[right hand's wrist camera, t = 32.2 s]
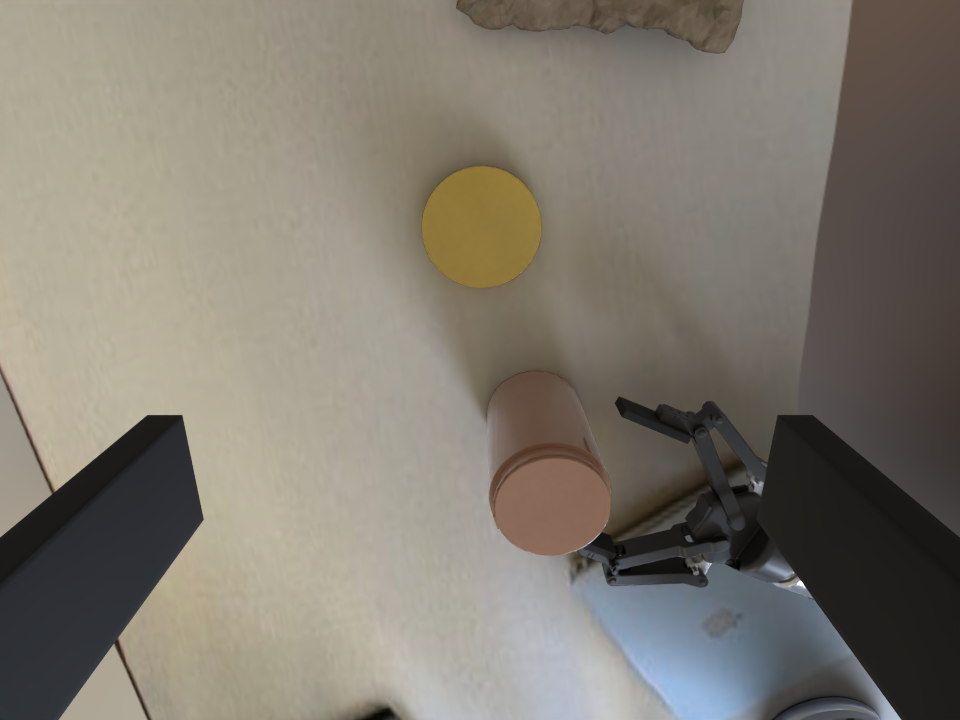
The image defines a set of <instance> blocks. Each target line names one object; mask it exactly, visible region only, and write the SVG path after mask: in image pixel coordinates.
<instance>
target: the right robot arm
mask: <svg viewBox="0 0 960 720" xmlns="http://www.w3.org/2000/svg"><path fill="white" fill-rule="evenodd" d="M203 520H204V519H203V514H202V509H201V504H200V499H199V494H198V490H197V485H196V480H195V475H194V470H193V465H192V460H191V455H190V451H189V446H188V441H187V436H186V431H185V426H184V421H183V416H182V415H147V416H146V417H145V418H144V419H142V420H141V421H140V422H139V423H138V424H136V425H135V426H134V427H133V428H132V429H130V430H129V431H128V432H127V433H125V434H124V435H123V436H122V437H121V438H119V439H118V440H117V441H116V442H115V443H113V444H112V445H111V446H110V447H109V448H107V449H106V450H105V451H104V452H103V453H101V454H100V455H99V456H98V457H97V458H95V459H94V460H93V461H92V462H91V463H89V464H88V465H87V466H86V467H85V468H83V469H82V470H81V471H80V472H79V473H77V474H76V475H75V476H74V477H73V478H71V479H70V480H69V481H68V482H67V483H65V484H64V485H63V486H62V487H61V488H59V489H58V490H57V491H56V492H55V493H53V494H52V495H51V496H50V497H48V498H47V499H46V500H45V501H44V502H42V503H41V504H40V505H39V506H38V507H36V508H35V509H34V510H33V511H32V512H30V513H29V514H28V515H27V516H26V517H24V518H23V519H22V520H21V521H20V522H18V523H17V524H16V525H15V526H14V527H12V528H11V529H10V530H9V531H8V532H6V533H5V534H4V535H3V536H2V537H0V720H59V718H60V717H61V716H62V714H63V713H64V711H65V710H66V709H67V707H68V706H69V704H70V703H71V702H72V700H73V699H74V698H75V696H76V695H77V694H78V692H79V691H80V689H81V688H82V687H83V685H84V684H85V682H86V681H87V680H88V678H89V677H90V675H91V674H92V673H93V671H94V670H95V669H96V667H97V666H98V665H99V663H100V662H101V660H102V659H103V658H104V656H105V655H106V654H107V652H108V651H109V649H110V648H111V647H112V645H113V644H114V643H115V641H116V640H117V638H118V637H119V636H120V634H121V633H122V631H123V630H124V629H125V627H126V626H127V625H128V623H129V622H130V620H131V619H132V618H133V616H134V615H135V614H136V612H137V611H138V609H139V608H140V607H141V605H142V604H143V603H144V601H145V600H146V598H147V597H148V596H149V594H150V593H151V592H152V590H153V589H154V587H155V586H156V585H157V583H158V582H159V581H160V579H161V578H162V576H163V575H164V574H165V572H166V571H167V569H168V568H169V567H170V565H171V564H172V563H173V561H174V560H175V558H176V557H177V556H178V554H179V553H180V552H181V550H182V549H183V547H184V546H185V545H186V543H187V542H188V541H189V539H190V538H191V536H192V535H193V534H194V532H195V531H196V530H197V528H198V527H199V525H200V524H201V523H202V521H203ZM756 520H757V521H758V523H759V524H760V525H761V527H762V528H763V530H764V531H765V532H766V534H767V535H768V536H769V538H770V539H771V541H772V542H773V543H774V545H775V546H776V547H777V549H778V550H779V552H780V553H781V554H782V556H783V557H784V558H785V560H786V561H787V563H788V564H789V565H790V567H791V568H792V569H793V571H794V572H795V574H796V575H797V576H798V578H799V579H800V581H801V582H802V583H803V585H804V586H805V587H806V589H807V590H808V592H809V593H810V594H811V596H812V597H813V598H814V600H815V601H816V603H817V604H818V605H819V607H820V608H821V609H822V611H823V612H824V614H825V615H826V616H827V618H828V619H829V620H830V622H831V623H832V625H833V626H834V627H835V629H836V630H837V631H838V633H839V634H840V636H841V637H842V638H843V640H844V641H845V643H846V644H847V645H848V647H849V648H850V649H851V651H852V652H853V654H854V655H855V656H856V658H857V659H858V660H859V662H860V663H861V665H862V666H863V667H864V669H865V670H866V671H867V673H868V674H869V676H870V677H871V678H872V680H873V681H874V682H875V684H876V685H877V687H878V688H879V689H880V691H881V692H882V694H883V695H884V696H885V698H886V699H887V700H888V702H889V703H890V705H891V706H892V707H893V709H894V710H895V711H896V713H897V714H898V716H899V717H900V718H901V720H960V537H958V536H957V535H956V534H955V533H954V532H952V531H951V530H950V529H949V528H948V527H946V526H945V525H944V524H943V523H942V522H940V521H939V520H938V519H937V518H936V517H934V516H933V515H932V514H931V513H930V512H928V511H927V510H926V509H925V508H923V507H922V506H921V505H920V504H919V503H917V502H916V501H915V500H914V499H913V498H911V497H910V496H909V495H908V494H907V493H905V492H904V491H903V490H902V489H901V488H899V487H898V486H897V485H896V484H895V483H893V482H892V481H891V480H890V479H888V478H887V477H886V476H885V475H884V474H883V473H881V472H880V471H879V470H878V469H877V468H875V467H874V466H873V465H872V464H871V463H869V462H868V461H867V460H866V459H865V458H863V457H862V456H861V455H860V454H859V453H857V452H856V451H855V450H854V449H853V448H851V447H850V446H849V445H848V444H847V443H845V442H844V441H843V440H842V439H840V438H839V437H838V436H837V435H836V434H835V433H833V432H832V431H831V430H830V429H828V428H827V427H826V426H825V425H824V424H822V423H821V422H820V421H819V420H818V419H816V418H815V417H814V416H813V415H778V416H777V421H776V426H775V431H774V436H773V441H772V446H771V451H770V455H769V460H768V465H767V470H766V475H765V480H764V485H763V490H762V494H761V499H760V504H759V509H758V514H757V519H756Z"/></svg>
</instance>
